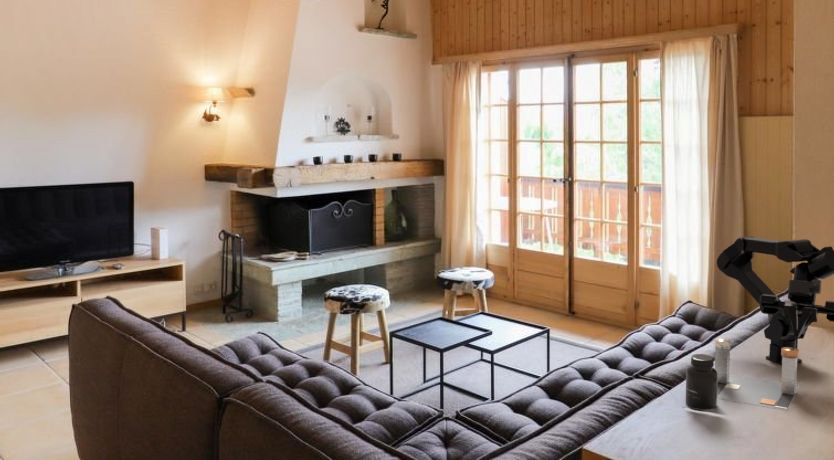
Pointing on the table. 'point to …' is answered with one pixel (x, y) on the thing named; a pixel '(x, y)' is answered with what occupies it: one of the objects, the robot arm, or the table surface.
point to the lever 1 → (722, 359)
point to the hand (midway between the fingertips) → (796, 337)
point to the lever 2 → (789, 370)
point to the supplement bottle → (701, 383)
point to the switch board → (755, 392)
